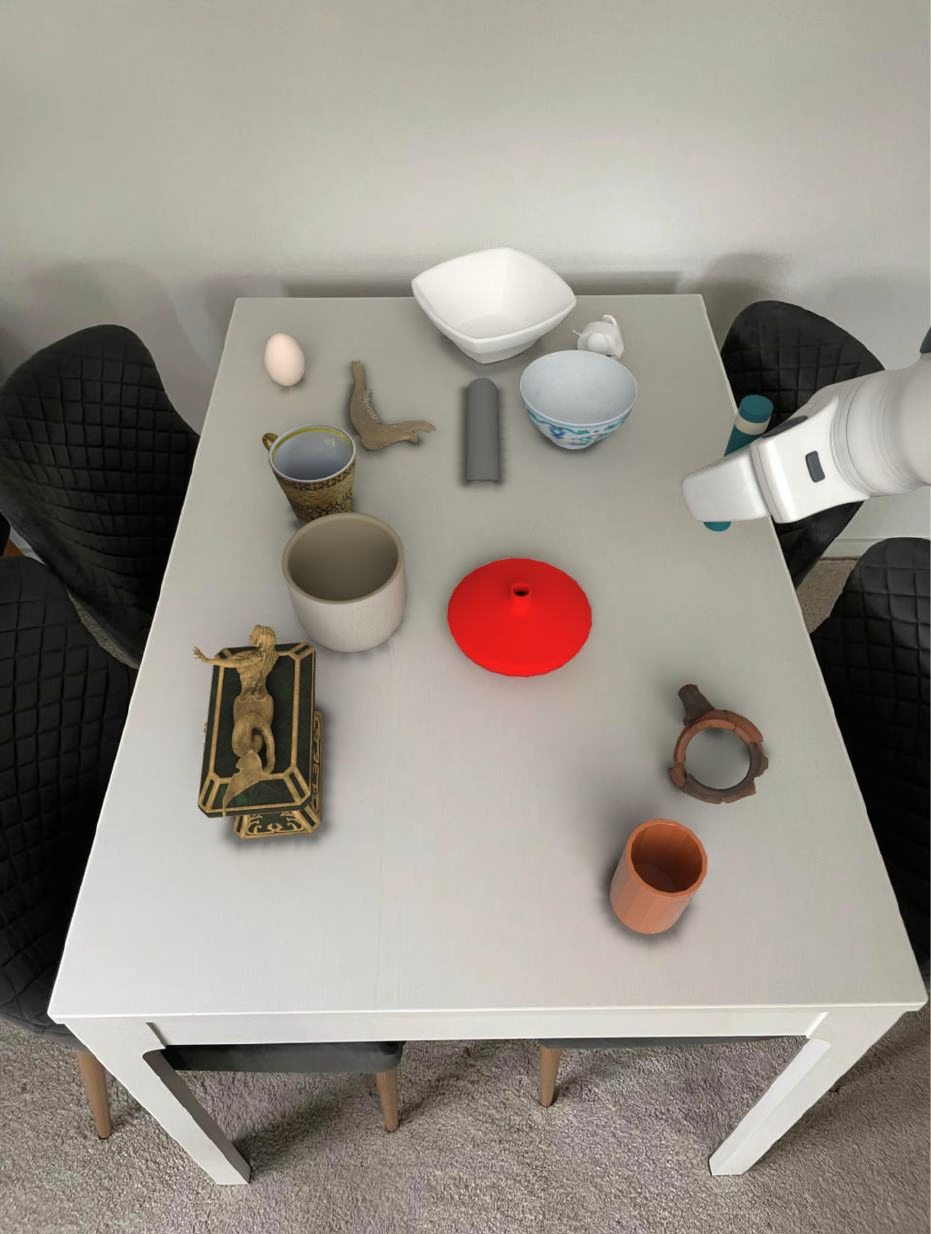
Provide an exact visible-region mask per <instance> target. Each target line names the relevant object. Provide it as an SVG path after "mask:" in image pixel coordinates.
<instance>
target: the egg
mask: <svg viewBox="0 0 931 1234" xmlns="http://www.w3.org/2000/svg"><path fill="white" fill-rule="evenodd" d="M263 355H264V356H263V360H264V365H265V368H266V372H267V374H268V375H269V377H270V378H271V379H272V380H273V381H274V382H275V383H277V384H279V385H280V386H283V387H292V386H294V385H296V384H298V383H299V382H300V381H301V379H302V378H303V376H304V374H305V370H306V358H305V356H304V355H305V354H304V352H303V349H302V347H301V346H300V345H299V343H298V342H297V340H296V339H295V338H293V336H291V335H289V334H288V333H284V332H277V333H275V334H273V335H272V336H271V337H269V339H268V341H267V342H266V345H265V349H264V353H263Z"/></svg>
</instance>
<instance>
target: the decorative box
mask: <svg viewBox="0 0 931 1234" xmlns="http://www.w3.org/2000/svg"><path fill="white" fill-rule="evenodd" d="M248 638H249V643H250V644H251V645H243V646H232V647H231V646H230V647H222V648H221V649H220V650H219V651H218V652H217V653H215V654H214V656H213V658H208V657H207V656H206V655H204V653H203V652H202V651H201V649H200V648H198V647H196V646H194V647H193V649H192V651H193V655H194V656H195V657H193V659H195V660H200V661H201V663H204V664H210V665H212V673H211V683H210V690H209V691H210V692H209V700H208V709H207V718H206V722H204V727H205V728H204V729H203V733H205V736H204V744H203V752H202V753H203V754H202V762H201V772H200V779H199V780H200V781H199V790H198V796H197V797H198V798H197V808H198V809H199V811H200V812H201V813H202V814H204V815H205V816H206V817H207V818H208V819H217V818H223V819H225V818H229V817H231V818H232V817H233V826H232V827H233V828H232V830H233V832H234V833H235V834H236V835H237V836H238V837H239V838H240V839H242V840H249V839H260V838H270V837H271V838H272V837H282V836H294V835H304V834H305V835H306V834H307V835H308V834H312V833H314V832H315V830H317V828H318V827H319V826H320V825H321V822H322V821H321V820H322V770H323V769H322V767H323V766H322V765H323V763H322V762H323V714H322V713H321V712H320V711H319V710H318V709H316V703H315V702H316V671H317V670H316V669H317V668H316V667H317V665H316V664H317V661H316V660H317V653H316V648H315V647H314V646H313V645H312V644H310V643H309V642H307V641H298V642H296V641H295V642H285V643H282V642H281V643H277V635H276V632H275V630H273V629H272V628H271V627H270V626H267V625H266V626H265V625H261V624H258V623H257V624H254V627H253V629H252V632H251V634H250V635H249V637H248ZM196 656H197V657H196Z"/></svg>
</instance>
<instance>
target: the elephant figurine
mask: <svg viewBox="0 0 931 1234" xmlns="http://www.w3.org/2000/svg"><path fill="white" fill-rule="evenodd" d="M572 332H574V333H575V334H576V335H577V336H578V338H577V341H576V350H583V351H590V352H595V353H599V354H603V355H605V356H608V355H609V356H610V358H612V359H614V360H616V361H618V360H620V359H622V356H623V353H624V352H626V349H625V346H624V342H623V338H622V333H621V330H620V325H619V323H618V322H617V320H616V319H615V317H614V316H612V315H611V314H604V315H602V316H601V321H597V320H596V321H592V322H590V323H588V324H587V325H586V326H585V327H584V328H583V330H582V331H581V332H577V331H575V330H574V329H573V330H572Z"/></svg>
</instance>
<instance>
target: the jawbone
mask: <svg viewBox="0 0 931 1234" xmlns="http://www.w3.org/2000/svg"><path fill="white" fill-rule="evenodd" d="M351 372H352V375H353V377H354V378H353V379H354V386H353V391H352V394H351V398H350V402H349V418H350V421H351V423H352V426H353V427H354V429H355V431H356V432H357V433H358V435H359V436H360V444H361V446H362V447H363V448H365V449H367V450H370V451H371V450H372V451H373V450H374V451H375V450H381V449H383V448H385V447H387V446H389V445H392V444H395V443H397V442H401V441H409V442H411V443H412V444H417V443H418V433H417V432H415V431H417V430H421V431H425V432H427V433H428V434H430V433H431V432H432V431H435V432H437V429H436V426H434V424H431V423H430V422H428V421H425V420H420V419H419V420H415V419H414V420H407V421H404V422H399V423H395V424H387V423H386V424H384V423H381V420H380V419H381V418H380V417H379V416H378V415H377V412H375V409H374V406H373V405H372V403H371V401H372V399H371V398H372V390H371V389H366V385H365V371H364V367H363V365H362V362H361V361H360V360H358V361H355V360H354V361H351Z"/></svg>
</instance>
